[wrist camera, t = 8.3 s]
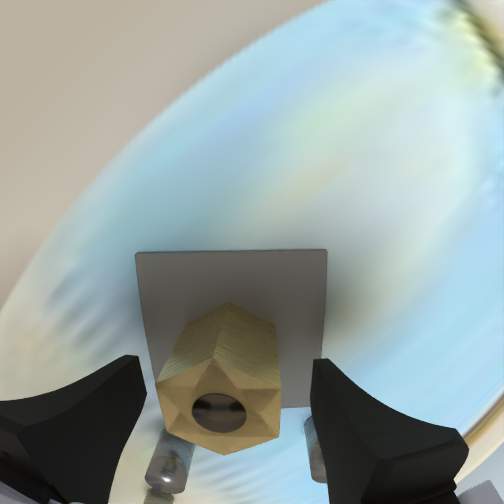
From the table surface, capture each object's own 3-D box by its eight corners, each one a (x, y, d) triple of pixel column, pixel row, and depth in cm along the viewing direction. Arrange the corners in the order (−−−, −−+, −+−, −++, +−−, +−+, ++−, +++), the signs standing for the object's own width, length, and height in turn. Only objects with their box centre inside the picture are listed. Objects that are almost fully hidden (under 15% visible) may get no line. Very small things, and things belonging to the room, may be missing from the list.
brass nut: (193, 385, 15) (172, 451, 10) (183, 300, 14) (148, 354, 9) (274, 387, 15) (278, 456, 10) (275, 300, 14) (282, 358, 9)
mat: (162, 399, 16) (160, 403, 16) (137, 252, 14) (134, 254, 14) (314, 402, 16) (315, 406, 15) (325, 249, 14) (327, 251, 14)
